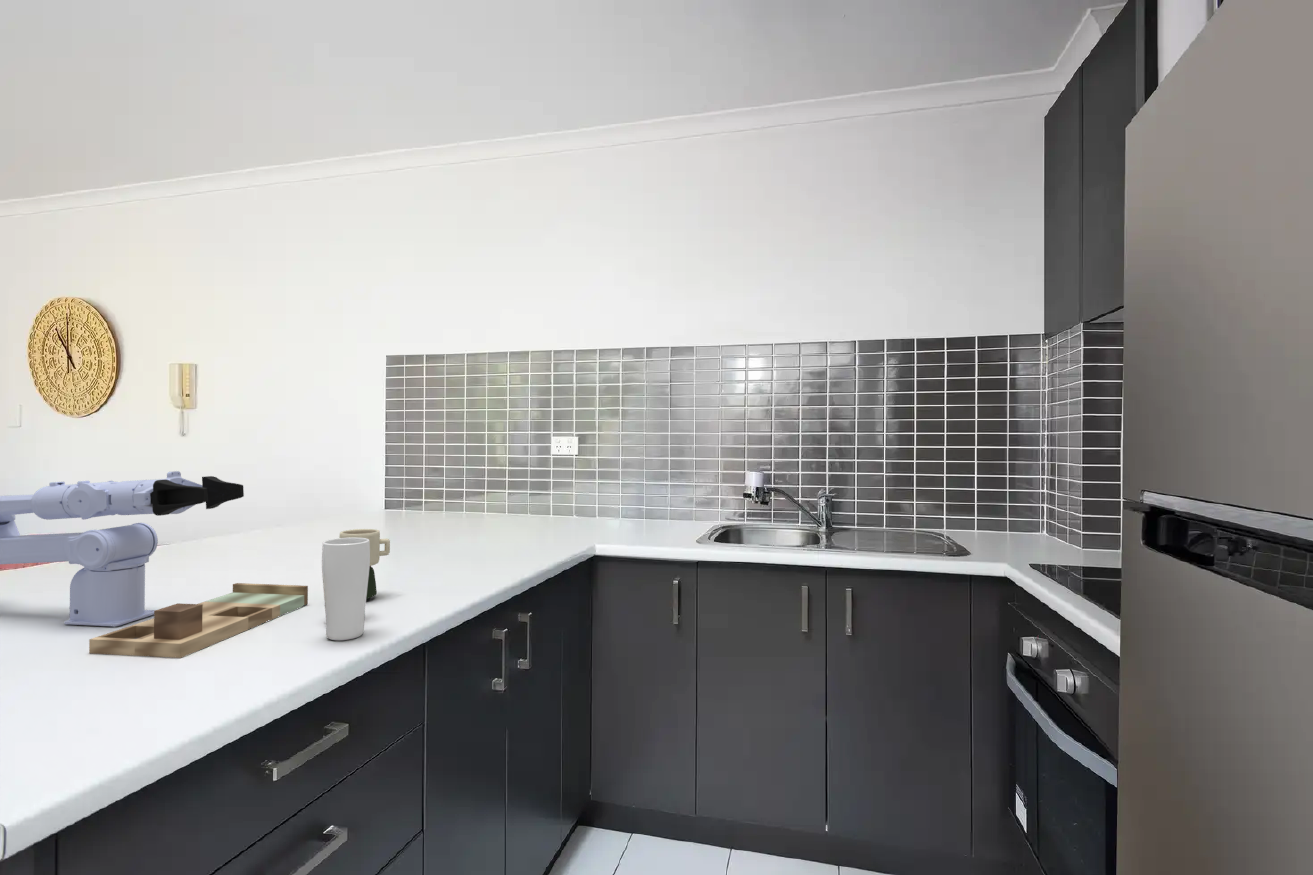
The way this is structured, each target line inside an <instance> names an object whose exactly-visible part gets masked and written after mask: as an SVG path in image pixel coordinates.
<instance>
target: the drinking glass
mask: <svg viewBox="0 0 1313 875" xmlns="http://www.w3.org/2000/svg"><path fill="white" fill-rule="evenodd" d="M321 551H322V552H321V573H322V574H321V578H322V584H323V585H322V588H323V600H324V601H323V602H324V611H325V625H326V626H325V629H326V630H325V633H326V634H325V636H326V637H327V639H329V640H331V641H340V642H341V641H349V640H353V639H357V638H359V637H361V636H362V635H363V634H364V632H365V614H366V606H367V605H366V604H367V599H366V596H367V587H368V577H369V567H370V541H369V539H366V538H332V539H331V538H330V539H327V540H324V541H323V542H322V548H321Z"/></svg>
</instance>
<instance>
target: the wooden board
mask: <svg viewBox="0 0 1313 875" xmlns="http://www.w3.org/2000/svg"><path fill="white" fill-rule="evenodd" d="M308 596H309V586H308V585H300V584H299V585H298V584H297V585H296V584H295V585H294V584H276V583H275V584H274V583H273V584H271V583H269V584H267V583H246V582H245V583H244V582H243V583H242V582H235V583H233V584H232V592H230V593H227V594H226V593H225V594H223V595H221V596H217V597H214V598H211V599H209V600H206V601H203V602H199V603H198V604H203V608H202V631H201V632H199V633H196V634H194V635H191V636H188V637H186V638H183V639H181V640H173V639H154V617H153V618H149V619H147V620H144V621H142V622H138V623H135V624H132V625H130V626H126V627H122V628H121V629H117V630H114V631H111V632H108V633H104V634H102V635H98V636H95V637H92V638H90V639H89V640H88V642H89V643H88V644H89V647H88V650H89V651H88V654H94V655H95V654H96V655H114V656H131V657H132V656H134V657H135V656H137V657H155V658H172V659H173V658H174V659H175V658H176V659H178V658H179V659H181V658H184V657H186V656H189V655H191V654H194V653H196V652H199V651H200V650H202V649H203V650H204V649H206V648H208V647H210V646H212V645H215V644H217V643H220V642H222V641H224V640H227V639H229V638H232V637H234V636H237V635H239V634H241V633H243V632H246V631H248V629H249V630H251V629H253V628H256V627H257V625H258V626H260V625H262V624H261V623H263V624H265V623H267V622H266V621H268V620H270V621H273V620H274V618H275V619H277V618H279V617H278V616H280V615H282V614H284V613H287V612H289V613H292V612H294V611H296V610H298V609H297V608H299V607H301V608H303V607H304V606H303V605H306V604H309V603H308V601H309V597H308ZM302 606H303V607H302ZM306 606H307V605H306ZM295 609H296V610H295ZM299 609H300V608H299ZM293 610H294V611H293ZM291 611H292V612H291ZM287 614H288V613H287ZM284 615H285V614H284ZM282 616H283V615H282ZM276 617H277V618H276ZM280 617H281V616H280ZM264 622H265V623H264ZM268 622H269V621H268ZM250 628H251V629H250ZM231 636H232V637H231Z"/></svg>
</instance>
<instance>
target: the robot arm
mask: <svg viewBox="0 0 1313 875" xmlns="http://www.w3.org/2000/svg"><path fill="white" fill-rule="evenodd" d="M244 492H245V491H244V485H243V484H240V483H237V482H230V481H224V480H222V479H220V478H218V477H217V476H212V475H210V476H209V475H207V476H201V484H200V483H197V482H195V481H191V480H189V479H186V478H183V477H182V473H181V472H180V471H179V470H178V471H177V470H176V471H175V470H174V471H168V472H167V473H166V478H158V479H156V478H155V479H139V480H122V481H113V480H107V481H101V482H91V481H90V480H79V481H77V482H76V483H74V484H73V483H72V484H71V483H70V484H66V482H65V481H52V482H49V485H45V486H43V487H40V488H39V489H38V490H36V491H35V492H34V494H13V495H11V494H10V495H8V494H7V495H5V494H3V495H0V565H17V564H35V563H36V564H38V563H41V564H43V563H61V562H68V564H70V565H80V566H82V568H80V569H79V570H78V571H77V572H76V573H75V574H74V575H73V576H72V578H71V581H70V584H69V619H68V620H64V622H63V623H64V625H72V626H73V625H76V626H77V625H78V626H97V627H99V626H101V627H120V626H122V625H125V624H128V623H132V622H135V621H138V620H141V619H144V618H147V617H150V616H154V611H155V609H146V608H145V607H146V606H145V604H146V602H145V601H146V598H145V596H146V564H147V563H149V562H150V556H152V555H153V554H154V553H155V551H156V549H157V547H158V542H159V541H158V540H159V539H158V534H157V533H156V530H155V529H154V528H153V527H152V526H151V525H150V524H148V523H145V522H135V523H131V524H127V525H121V526H116V527H114V526H113V527H108V528H102V529H90V530H86V531H83V532H68V533H67V532H65V533H63V532H62V533H44V534H41V533H40V534H27V535H26V534H25V535H22V534H20V531H19V528H18V526H17V524H16V521H15V520H16V515H24V514H26V515H27V514H34V515H36V517H38V518H40V519H43V520H47V521H48V520H63V519H66V520H67V519H80V518H81V520H88V519H89V520H90V519H93V518H98V517H106V516H115V515H118V516H137V515H155V516H166V515H178V514H182V513H184V512H186V511H187V510H189V509H191V508H192V507H194V506H196V505H200V504H203V503H205V510H210V509H211V510H212V509H215V508H217V507H219V506H221V505H222V504H224V503H226V502H229V501H234V500H238V499H241V498H244V497H245V493H244Z"/></svg>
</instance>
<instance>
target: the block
mask: <svg viewBox="0 0 1313 875" xmlns="http://www.w3.org/2000/svg"><path fill="white" fill-rule="evenodd" d="M202 608H203V604H199V603H174V604H172V605H169V606H168V605H167V606H165V607H162V608H159V609H156V610H155V609H154V610H155V611H154V615H153V618H154V639H173V640H181V639H183V638H186V637H188V636H191V635H194V634H196V633H199V632H201V631H202Z"/></svg>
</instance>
